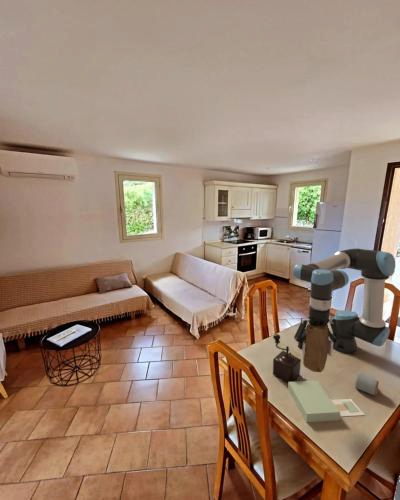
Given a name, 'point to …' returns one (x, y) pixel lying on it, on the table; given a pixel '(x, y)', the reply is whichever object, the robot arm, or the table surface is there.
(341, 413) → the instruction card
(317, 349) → the block
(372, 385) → the grey cylinder
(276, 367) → the dark brown coffee grinder
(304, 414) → the baseplate
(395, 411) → the table surface
